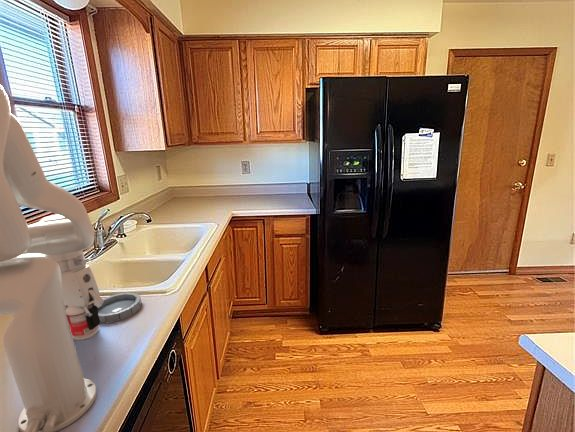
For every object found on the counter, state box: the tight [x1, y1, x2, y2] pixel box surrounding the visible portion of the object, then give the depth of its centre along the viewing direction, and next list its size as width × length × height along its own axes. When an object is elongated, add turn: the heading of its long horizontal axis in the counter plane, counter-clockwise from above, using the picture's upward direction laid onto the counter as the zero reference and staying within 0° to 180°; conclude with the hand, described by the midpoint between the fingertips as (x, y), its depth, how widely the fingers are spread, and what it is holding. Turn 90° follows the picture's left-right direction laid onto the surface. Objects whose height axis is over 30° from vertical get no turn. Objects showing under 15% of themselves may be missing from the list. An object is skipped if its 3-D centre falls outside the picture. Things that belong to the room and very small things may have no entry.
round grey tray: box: [98, 292, 142, 324], centre depth 97 cm, size 13×13×2 cm
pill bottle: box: [65, 301, 100, 341], centre depth 85 cm, size 6×6×11 cm
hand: (84, 325), depth 86 cm, fingers closed on pill bottle, 6 cm apart
